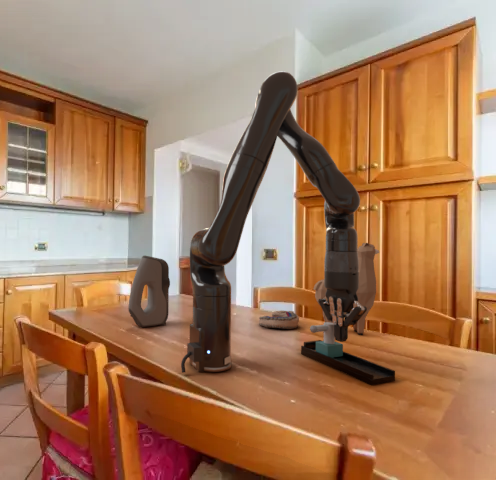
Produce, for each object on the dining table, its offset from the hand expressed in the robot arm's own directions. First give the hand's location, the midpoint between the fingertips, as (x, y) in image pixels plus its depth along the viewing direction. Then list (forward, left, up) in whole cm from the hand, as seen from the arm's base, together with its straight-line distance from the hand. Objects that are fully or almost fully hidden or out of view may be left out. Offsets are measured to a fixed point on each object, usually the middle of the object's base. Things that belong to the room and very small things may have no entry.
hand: (340, 340), depth 81 cm
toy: (+26, +23, -6) cm, 35 cm away
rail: (0, 0, -6) cm, 6 cm away
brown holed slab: (-33, +53, -6) cm, 62 cm away
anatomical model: (+11, +38, -6) cm, 40 cm away
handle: (-1, +4, -5) cm, 6 cm away
